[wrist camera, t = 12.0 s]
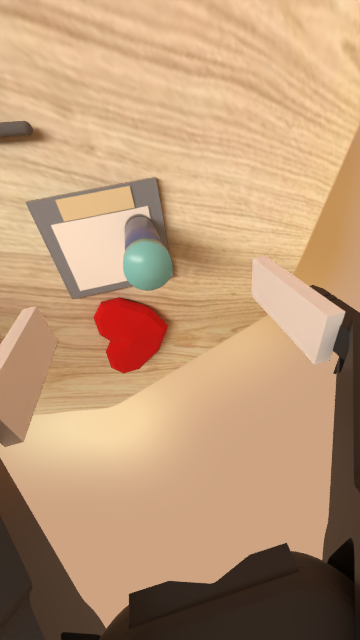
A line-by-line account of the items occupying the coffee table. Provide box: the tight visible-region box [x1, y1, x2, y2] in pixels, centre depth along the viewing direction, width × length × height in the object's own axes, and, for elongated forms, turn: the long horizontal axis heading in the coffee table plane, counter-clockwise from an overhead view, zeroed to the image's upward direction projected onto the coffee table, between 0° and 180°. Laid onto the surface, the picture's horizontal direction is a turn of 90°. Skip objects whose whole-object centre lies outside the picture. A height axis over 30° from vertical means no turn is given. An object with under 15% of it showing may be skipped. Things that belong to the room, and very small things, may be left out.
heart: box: [94, 298, 168, 373], centre depth 36 cm, size 12×4×10 cm
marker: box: [123, 214, 173, 291], centre depth 24 cm, size 4×4×12 cm
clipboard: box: [26, 177, 174, 299], centre depth 29 cm, size 14×12×1 cm
